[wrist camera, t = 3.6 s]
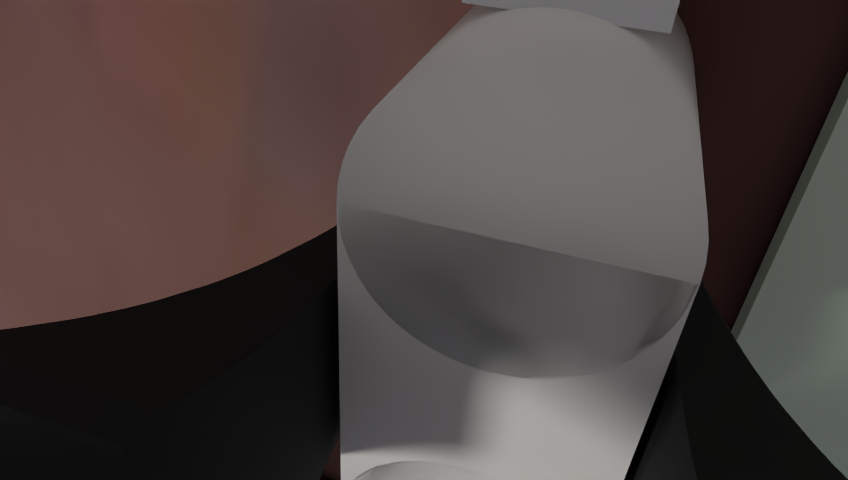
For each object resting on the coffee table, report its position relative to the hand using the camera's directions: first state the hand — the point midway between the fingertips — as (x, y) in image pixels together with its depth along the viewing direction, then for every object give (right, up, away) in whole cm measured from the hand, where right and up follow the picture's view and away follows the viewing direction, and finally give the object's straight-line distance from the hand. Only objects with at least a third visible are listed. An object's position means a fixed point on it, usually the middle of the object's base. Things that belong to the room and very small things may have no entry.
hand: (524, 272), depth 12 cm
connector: (+1, +2, 0) cm, 2 cm away
